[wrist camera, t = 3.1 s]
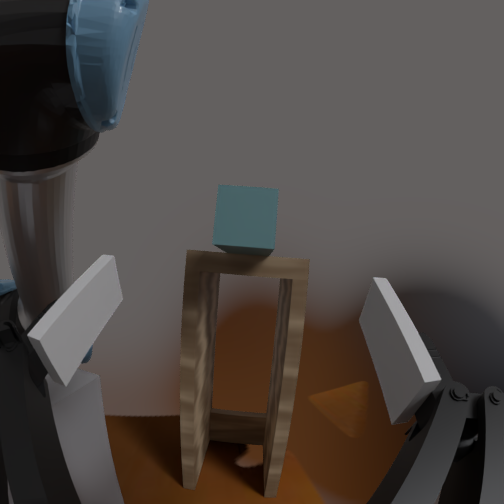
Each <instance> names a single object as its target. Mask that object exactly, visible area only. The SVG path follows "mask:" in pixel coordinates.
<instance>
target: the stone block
mask: <svg viewBox="0 0 504 504" xmlns="http://www.w3.org/2000/svg"><path fill="white" fill-rule="evenodd" d="M45 379H46V380H47V383H48V389H49V395H50V401H51V406H52V411H53V416H54V421H55V425H56V429H57V433H58V437H59V441H60V444H61V448H62V451H63V455H64V458H65V461H66V464H67V467H68V470H69V473H70V476H71V479H72V481H73V484H74V487H75V489H76V492H77V494H78V497H79V499H80V501H81V504H124V501H123V498H122V494H121V491H120V487H119V484H118V480H117V476H116V472H115V468H114V464H113V459H112V455H111V450H110V445H109V440H108V434H107V429H106V422H105V416H104V408H103V400H102V391H101V381H100V376H99V375H96V374H93V373H90V372H87V371H84V370H81V369H78V368H77V370H76V371H75V373H74V375H73V376H72V378H71V380H70V381H69V383H68V385H67V387H65V386H62V385H60V384H57V383H55V382H53V380H52V379H51V377H50V375H49V374H47V375H46V377H45ZM7 480H8V479H7ZM8 497H9V504H14V503H13V499H12V495H11V491H10V487H9V483H8Z"/></svg>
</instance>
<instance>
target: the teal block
mask: <svg viewBox="0 0 504 504" xmlns="http://www.w3.org/2000/svg"><path fill="white" fill-rule="evenodd" d="M277 205H278V189H272V188H261V187H247V186H229V185H219V186H218V194H217V204H216V213H215V223H214V233H213V243H212V244H213V245H215V246H217V247H218V248H220V249H221V250H223V251H225V252H227V253H234V254H247V255H259V256H269V255H270V254H271V253H272V252H273V250H274V247H275V234H276V233H275V232H276V219H277Z"/></svg>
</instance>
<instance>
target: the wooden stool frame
mask: <svg viewBox="0 0 504 504" xmlns="http://www.w3.org/2000/svg"><path fill="white" fill-rule="evenodd" d="M220 273H224V274H235V275H247V276H259V277H272V278H280V287H279V298H278V310H277V320H276V331H275V341H274V351H273V360H272V370H271V379H270V387H269V397H268V405H267V413H252V412H239V411H230V410H221V409H213V408H212V393H213V373H214V355H215V354H214V353H215V337H216V322H217V308H218V295H219V281H220ZM308 274H309V259H297V258H284V257H271V256H259V255H247V254H234V253H222V252H209V251H196V250H187V256H186V266H185V281H184V293H183V294H184V295H183V309H182V328H181V356H180V432H181V457H182V475H183V488H187V489H192V490H195V487H196V484H197V481H198V477H199V474H200V471H201V467H202V464H203V461H204V457H205V454H206V451H207V447H208V444H209V441H210V440H213V441H221V442H230V443H240V444H253V445H263V465H264V497H276V494H277V490H278V485H279V481H280V476H281V471H282V466H283V461H284V456H285V451H286V445H287V439H288V434H289V429H290V423H291V416H292V411H293V404H294V397H295V390H296V384H297V377H298V369H299V362H300V354H301V346H302V345H301V344H302V337H303V328H304V317H305V308H306V297H307V286H308Z"/></svg>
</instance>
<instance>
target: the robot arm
mask: <svg viewBox="0 0 504 504" xmlns="http://www.w3.org/2000/svg"><path fill="white" fill-rule="evenodd" d="M148 3H149V0H0V229H1V234H2V238H3V243H4V247H5V251H6V255H7V258H8V262H9V265H10V268H11V272H12V275H13V278H14V280H0V504H9V497H8V483H9V487H10V491H11V495H12V499H13V503H14V504H81V501H80V499H79V497H78V494H77V492H76V489H75V487H74V484H73V481H72V479H71V476H70V473H69V470H68V467H67V464H66V461H65V458H64V455H63V451H62V448H61V444H60V441H59V437H58V433H57V429H56V425H55V421H54V416H53V411H52V406H51V401H50V395H49V389H48V383H47V380H46V379H45V377H46V375H47V374H49V375H50V377H51V379H52V380H53V382H55V383H57V384H60V385H62V386H65V387H67V385H68V383H69V381H70V380H71V378H72V376H73V375H74V373H75V371H76V370H77V368H78V366H79V365H80V363H87V362H88V361H89V360H90V358H91V355H92V346H93V342H94V341H95V340H96V338H97V337H98V335H99V333H100V332H101V330H102V329H103V327H104V326H105V325H106V323H107V321H108V320H109V319H110V317H111V316H112V314H113V313H114V311H115V310H116V308H117V307H118V305H119V304H120V303H121V301H122V300H123V297H122V293H121V287H120V283H119V278H118V273H117V268H116V262H115V257H114V256H111V255H102V256H101V257H100V258H99V259H98V260H96V261H95V262H94V263H93V264H92V265H91V266H90V267H89V268H88V269H87V270H86V271H85V272H84V273H83V274H82V275H81V276H80V277H79V278H78V279H77V280H76V281H75V282H74V278H73V250H72V249H73V247H72V246H73V245H72V244H73V243H72V242H73V239H72V237H73V233H72V232H73V206H74V192H75V181H76V172H77V164H78V161H79V160H81V159H82V158H84V157H85V156H86V155H88V154H89V153H90V152H91V151H92V150H93V149H94V147H95V146H96V144H97V141H98V137H99V133H100V132H104V131H106V130H112V129H114V128H116V126H117V125H118V123H119V121H120V118H121V113H122V111H123V107H124V103H125V99H126V93H127V89H128V85H129V81H130V77H131V74H132V69H133V66H134V61H135V57H136V53H137V50H138V45H139V41H140V38H141V34H142V30H143V26H144V22H145V18H146V14H147V9H148ZM359 322H360V325H361V328H362V330H363V333H364V336H365V339H366V342H367V345H368V348H369V351H370V354H371V357H372V360H373V363H374V366H375V369H376V372H377V375H378V379H379V382H380V385H381V388H382V392H383V395H384V399H385V402H386V405H387V409H388V413H389V416H390V420H391V424H392V425H393V424H399V423H404V422H408V421H409V420H410V419H411V417H412V416H413V415H414V414H415V416H416V419H417V421H416V422H415V423H414V424H413V426H411V427H410V429H408V431H407V432H406V433H405V435H407V434H408V433H409V432H410V433H409V435H408V437H407V439H406V441H405V442H404V445H403V446H402V448H401V450H400V452H399V454H398V455H397V457H396V459H395V461H394V462H393V464H392V466H391V468H390V469H389V471H388V473H387V474H386V476H385V477H384V479H383V481H382V482H381V484H380V485H379V487H378V488H377V490H376V491H375V493H374V494H373V496H372V497H371V498H370V500H369V501H368V502H367V504H434V503H435V501H436V499H437V497H438V495H439V492H440V490H441V488H442V490H441V494H440V498H439V502H438V504H504V394H503V392H502V391H501V390H500V389H499V388H497V387H495V386H490V387H488V388H486V390H485V391H484V392H483V393H482V394H474V393H469V391H468V389H467V388H466V387H465V386H464V385H463V384H461V383H459V382H453V380H452V378H451V376H450V374H449V372H448V370H447V368H446V366H445V364H444V362H443V360H442V358H441V357H440V354H439V352H438V351H437V350H436V347H435V345H434V343H433V341H432V340H431V339H430V338H429V337H428V336H427V335H426V334H425V333H418V332H417V330H416V328H415V327H414V325H413V323H412V321H411V319H410V317H409V316H408V314H407V312H406V311H405V309H404V307H403V305H402V304H401V302H400V300H399V299H398V297H397V295H396V293H395V292H394V290H393V289H392V287H391V285H390V284H389V282H388V280H387V279H386V278H373V279H372V282H371V285H370V289H369V292H368V295H367V298H366V301H365V304H364V307H363V310H362V313H361V316H360V319H359ZM477 434H478V440H477ZM7 479H8V480H7Z"/></svg>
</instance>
